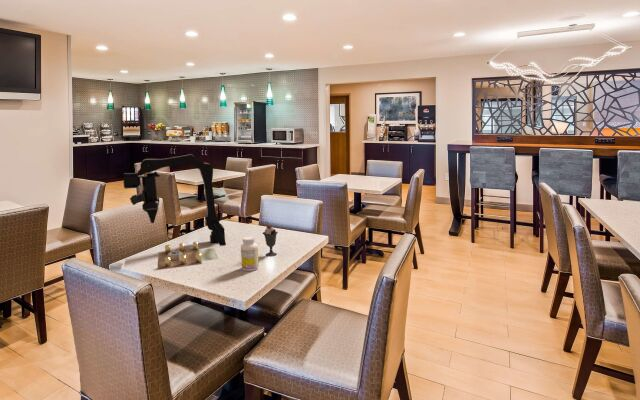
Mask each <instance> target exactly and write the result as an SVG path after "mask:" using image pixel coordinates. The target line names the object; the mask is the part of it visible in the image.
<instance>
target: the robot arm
mask: <svg viewBox="0 0 640 400" xmlns="http://www.w3.org/2000/svg"><path fill="white" fill-rule="evenodd" d="M186 164H190V165H192V166H193V167H195V168H196V169H198V170H199V173H200V176H201V179H202V182H203V188H204V195H205V204H206V214H203V217H204V224H205V226H206V227H207V229H208V230H210V234H209V240H210V241H209V243H210V244H218V245H219V246H226V244H227V243H226V231H225V228H224V227H225V226H224V225H223V224H222V223H220V221H219V217H218V215H217V212H216V206H215V205H216V204H215V197H214V195H215V194H214V188H213V178H214V167H213V166H212V165H211V164H210V163H208V162H203V161H202V160H201V159H198V157H195V156H194V155H193V154H192V153H188V154H186V155H179V156H172V157H167V158H145V159H143V160H142V161H141V163H140V164H139V165H140V168H139V170H137V172H129V173H127V172H124V173H123V183H122V184H123V188H124V189H125V190H126V189H139V187H140V186H142V191H141V192H140V193H138V194H134V195H132V196H131V197H129V200H130V203H131V204H132V205H133V206H135V205H137V204H138V203H141V202H143V203H142V205H141V206H142V210H143V211H144V212H146V214H147V215H148V218H149V221H150V223H151V224H154V223H155V220H156V217H157V213H158V210H159V206H160V196H158V187H157V179H156V178H159V177H160V176H161V175H160V174H161V173H158V172H157V170H160V169H163V168H167V167H173V166H180V165H186ZM145 174H146V175H145Z"/></svg>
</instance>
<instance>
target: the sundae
mask: <svg viewBox="0 0 640 400" xmlns="http://www.w3.org/2000/svg"><path fill="white" fill-rule="evenodd" d="M265 223H266V224H267V226H266V228H265V230H264V231H263V232H262V235H263V236H264V239H265V240H264V241H265V244H266V246H267V247H268V248H269V252H267V253H265V256H267V257H275V256H277V255H278V253H277V252H274V251H273V247H274V246H275V245H276V241H277V234H278V233H279V232H278V231H276V228H274V227H273V226H270V225H269V223H268V221H265Z"/></svg>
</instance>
